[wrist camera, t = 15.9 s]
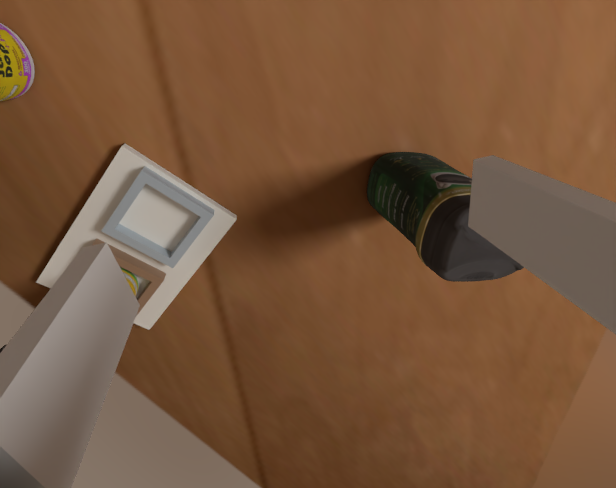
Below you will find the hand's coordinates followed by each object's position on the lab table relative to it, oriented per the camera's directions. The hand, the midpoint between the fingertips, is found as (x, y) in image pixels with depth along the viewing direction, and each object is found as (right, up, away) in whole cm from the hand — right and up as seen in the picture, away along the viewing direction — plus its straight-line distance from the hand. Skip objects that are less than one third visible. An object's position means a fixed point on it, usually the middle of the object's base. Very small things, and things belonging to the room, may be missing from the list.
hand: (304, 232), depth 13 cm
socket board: (-20, -1, +29) cm, 36 cm away
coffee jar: (+12, +8, +32) cm, 35 cm away
